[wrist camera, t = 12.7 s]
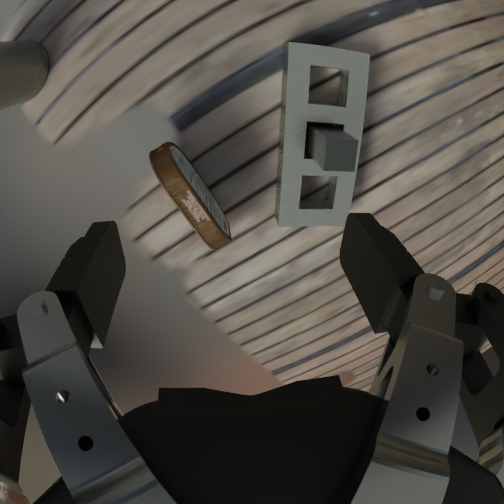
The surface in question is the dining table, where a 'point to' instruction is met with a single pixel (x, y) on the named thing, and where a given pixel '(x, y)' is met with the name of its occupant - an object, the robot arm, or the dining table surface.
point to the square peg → (331, 147)
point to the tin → (190, 194)
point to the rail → (301, 110)
